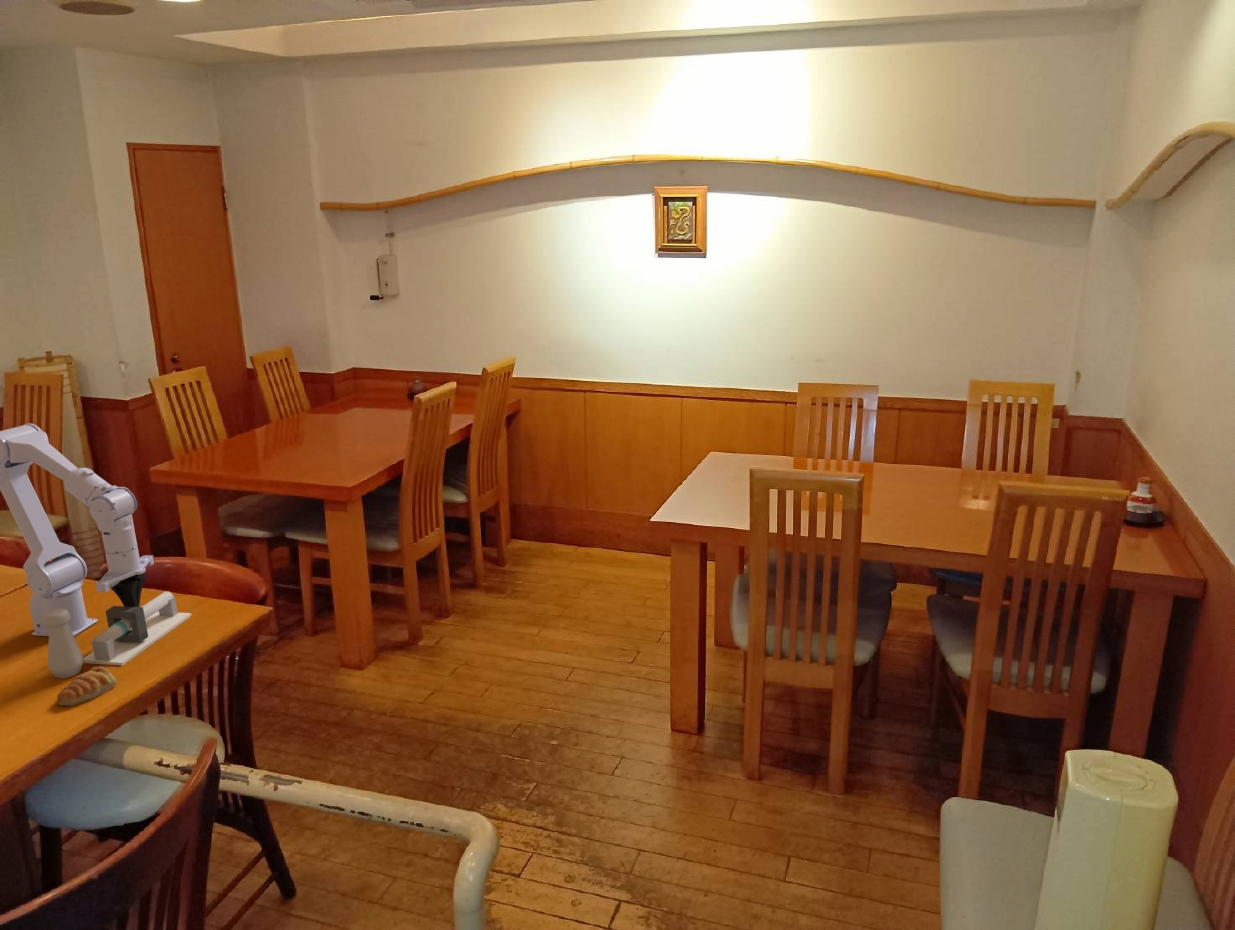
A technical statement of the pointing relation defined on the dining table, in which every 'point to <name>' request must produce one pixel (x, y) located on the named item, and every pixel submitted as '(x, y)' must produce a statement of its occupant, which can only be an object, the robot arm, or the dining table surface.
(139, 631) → the grey square collar
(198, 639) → the dining table surface
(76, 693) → the pastry
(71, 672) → the salt shaker
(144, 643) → the pipe rail
